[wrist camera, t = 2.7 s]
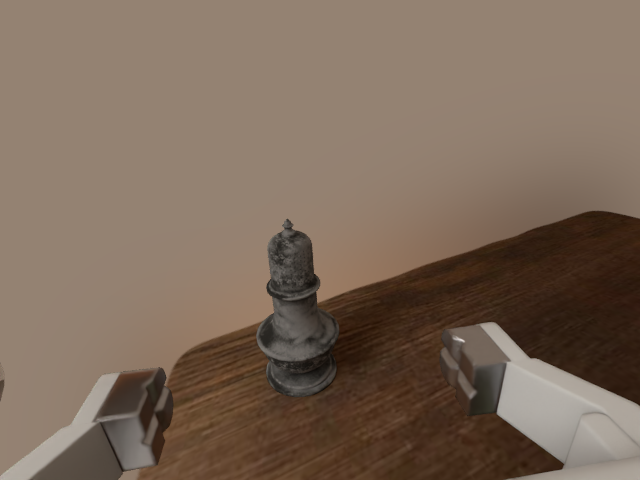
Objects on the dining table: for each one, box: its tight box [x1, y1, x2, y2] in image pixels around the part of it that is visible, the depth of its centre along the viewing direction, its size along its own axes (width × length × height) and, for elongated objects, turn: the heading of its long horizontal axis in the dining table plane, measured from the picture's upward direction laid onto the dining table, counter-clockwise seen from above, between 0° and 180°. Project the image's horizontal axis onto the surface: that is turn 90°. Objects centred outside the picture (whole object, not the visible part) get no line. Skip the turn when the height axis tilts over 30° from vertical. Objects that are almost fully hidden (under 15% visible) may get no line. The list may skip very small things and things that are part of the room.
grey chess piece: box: [256, 219, 339, 397], centre depth 24 cm, size 6×6×12 cm
